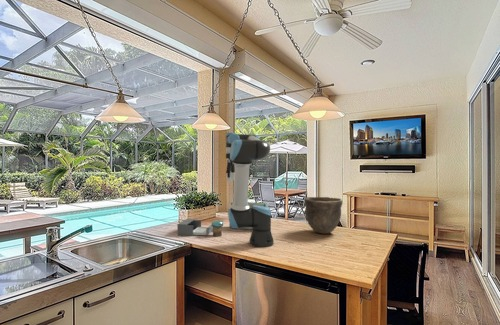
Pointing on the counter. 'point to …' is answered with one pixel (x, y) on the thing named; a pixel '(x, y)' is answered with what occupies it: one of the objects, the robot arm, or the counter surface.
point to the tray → (203, 230)
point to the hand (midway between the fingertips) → (230, 181)
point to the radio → (251, 207)
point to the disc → (217, 223)
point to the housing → (188, 227)
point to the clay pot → (323, 213)
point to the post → (217, 231)
